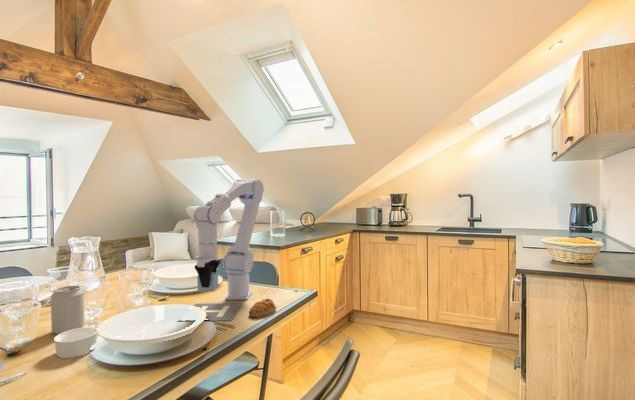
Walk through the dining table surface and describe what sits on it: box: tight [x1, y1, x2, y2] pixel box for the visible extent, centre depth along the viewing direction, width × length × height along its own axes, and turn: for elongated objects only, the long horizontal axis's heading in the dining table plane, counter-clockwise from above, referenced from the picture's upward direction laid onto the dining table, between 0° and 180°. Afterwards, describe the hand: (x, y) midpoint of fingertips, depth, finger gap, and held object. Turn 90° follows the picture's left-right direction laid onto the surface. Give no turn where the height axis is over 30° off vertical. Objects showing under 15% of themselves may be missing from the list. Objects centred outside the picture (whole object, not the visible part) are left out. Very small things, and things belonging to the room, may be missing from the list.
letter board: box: [192, 302, 243, 322], centre depth 113 cm, size 16×16×1 cm
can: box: [50, 285, 85, 336], centre depth 99 cm, size 8×8×12 cm
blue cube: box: [196, 271, 219, 293], centre depth 114 cm, size 5×5×5 cm
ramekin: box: [53, 326, 99, 359], centre depth 86 cm, size 9×9×4 cm
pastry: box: [248, 298, 277, 318], centre depth 112 cm, size 9×7×4 cm
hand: (208, 284), depth 114 cm, fingers closed on blue cube, 5 cm apart
